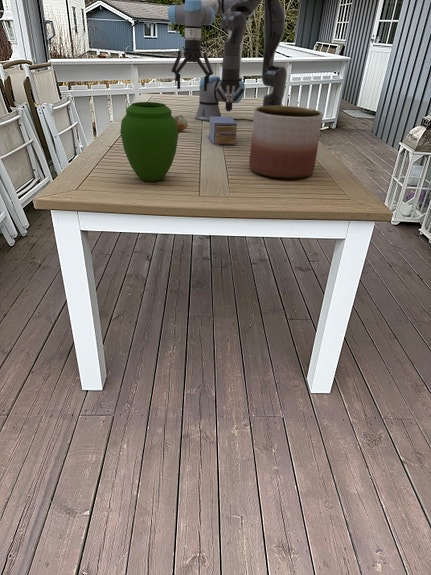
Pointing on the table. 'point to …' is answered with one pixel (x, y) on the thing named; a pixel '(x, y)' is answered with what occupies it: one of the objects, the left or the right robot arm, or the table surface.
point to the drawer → (226, 134)
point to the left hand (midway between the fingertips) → (192, 90)
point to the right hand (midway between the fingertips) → (228, 111)
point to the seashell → (181, 122)
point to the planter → (284, 141)
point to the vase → (149, 139)
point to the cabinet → (218, 121)
